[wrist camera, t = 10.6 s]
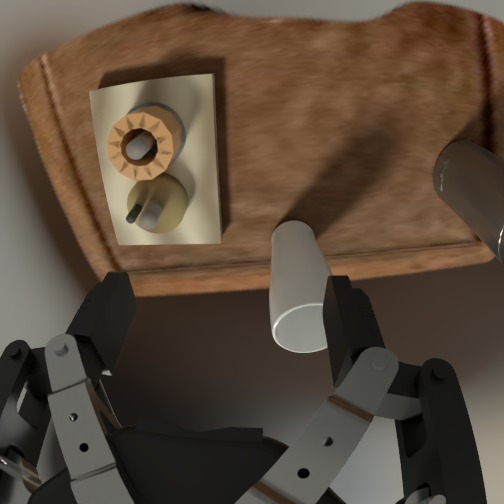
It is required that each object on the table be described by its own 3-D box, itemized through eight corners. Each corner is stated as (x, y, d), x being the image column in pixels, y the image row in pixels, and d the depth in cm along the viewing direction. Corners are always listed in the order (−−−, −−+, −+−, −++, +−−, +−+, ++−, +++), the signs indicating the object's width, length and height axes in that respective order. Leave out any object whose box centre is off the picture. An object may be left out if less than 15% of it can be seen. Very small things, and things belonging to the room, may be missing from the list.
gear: (179, 103, 27) (169, 109, 24) (184, 164, 31) (176, 178, 27) (119, 110, 27) (102, 118, 24) (127, 168, 31) (113, 182, 27)
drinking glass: (330, 233, 38) (363, 323, 26) (294, 268, 41) (310, 361, 29) (289, 202, 36) (310, 289, 23) (253, 241, 39) (255, 336, 26)
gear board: (214, 73, 27) (205, 76, 22) (222, 234, 38) (217, 270, 32) (97, 89, 27) (64, 98, 22) (123, 236, 38) (104, 269, 32)
